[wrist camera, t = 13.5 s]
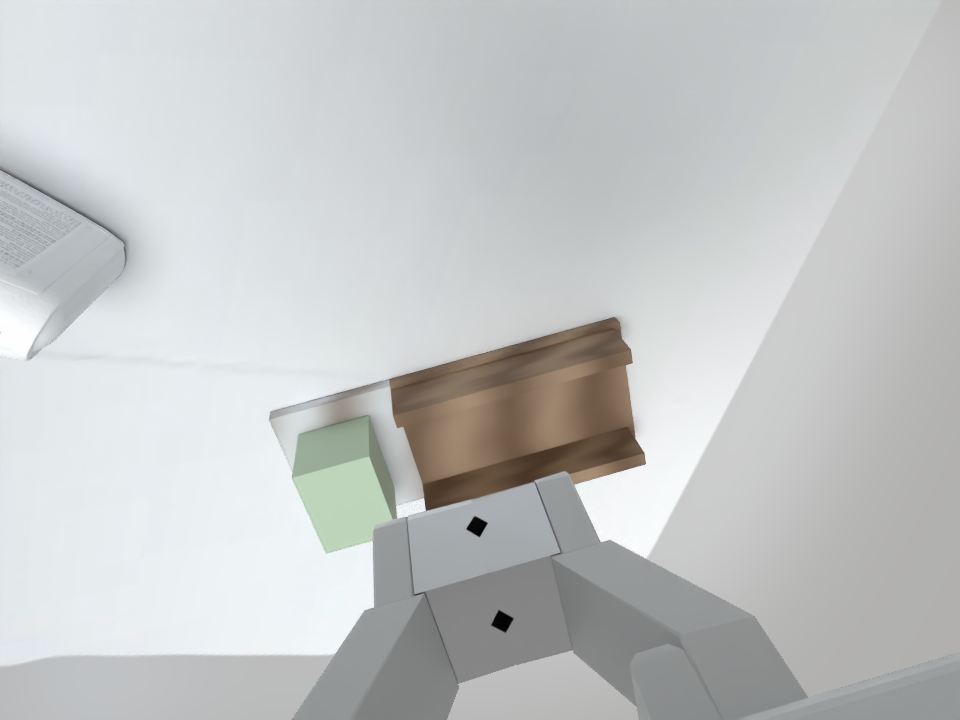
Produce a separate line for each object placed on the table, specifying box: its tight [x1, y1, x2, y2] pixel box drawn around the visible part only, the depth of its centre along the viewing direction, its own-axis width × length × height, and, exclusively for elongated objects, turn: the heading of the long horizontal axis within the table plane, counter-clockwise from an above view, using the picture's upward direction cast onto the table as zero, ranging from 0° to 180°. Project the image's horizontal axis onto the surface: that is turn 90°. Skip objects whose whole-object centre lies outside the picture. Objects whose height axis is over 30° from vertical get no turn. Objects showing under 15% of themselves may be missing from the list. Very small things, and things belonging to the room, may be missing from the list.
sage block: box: [292, 416, 397, 554], centre depth 46 cm, size 5×7×5 cm
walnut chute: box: [269, 318, 646, 511], centre depth 48 cm, size 25×10×4 cm, turn 103°
